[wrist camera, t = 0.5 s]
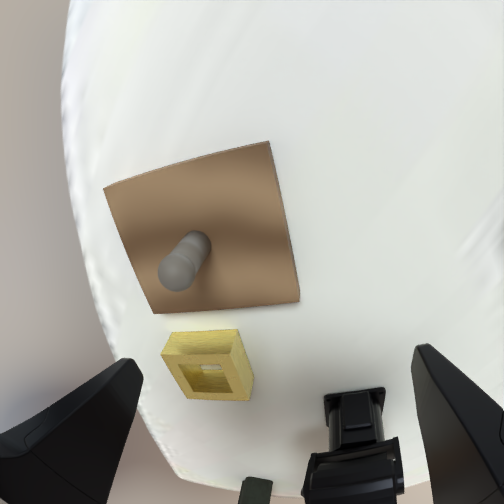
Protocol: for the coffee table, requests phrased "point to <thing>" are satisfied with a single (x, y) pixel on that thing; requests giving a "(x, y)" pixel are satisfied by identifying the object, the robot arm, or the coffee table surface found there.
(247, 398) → the brass square frame
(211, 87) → the coffee table surface
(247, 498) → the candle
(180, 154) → the coffee table surface
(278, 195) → the brown base plate
